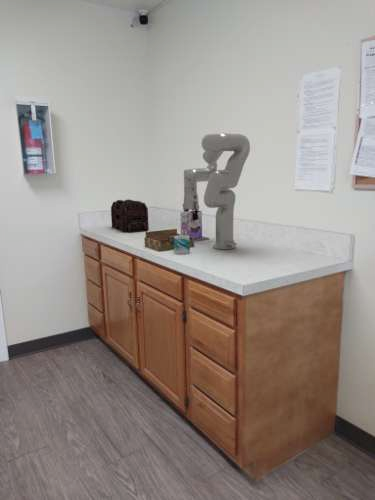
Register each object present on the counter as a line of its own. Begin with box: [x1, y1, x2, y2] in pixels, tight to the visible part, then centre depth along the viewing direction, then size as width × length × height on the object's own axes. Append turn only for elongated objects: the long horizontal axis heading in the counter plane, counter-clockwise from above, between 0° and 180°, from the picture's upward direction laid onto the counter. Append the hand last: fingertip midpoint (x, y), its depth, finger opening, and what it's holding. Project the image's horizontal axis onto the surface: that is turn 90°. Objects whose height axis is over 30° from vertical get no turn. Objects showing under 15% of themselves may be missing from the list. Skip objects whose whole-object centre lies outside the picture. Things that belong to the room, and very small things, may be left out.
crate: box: [110, 199, 150, 234], centre depth 288 cm, size 35×19×21 cm, turn 28°
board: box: [194, 235, 210, 242], centre depth 242 cm, size 11×19×1 cm, turn 122°
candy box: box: [180, 210, 203, 239], centre depth 240 cm, size 14×6×16 cm, turn 140°
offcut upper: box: [168, 235, 183, 244], centre depth 216 cm, size 3×8×4 cm, turn 130°
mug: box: [174, 236, 191, 255], centre depth 207 cm, size 8×12×8 cm
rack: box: [143, 228, 195, 252], centre depth 222 cm, size 18×22×8 cm
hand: (190, 219), depth 240 cm, fingers open, 9 cm apart
